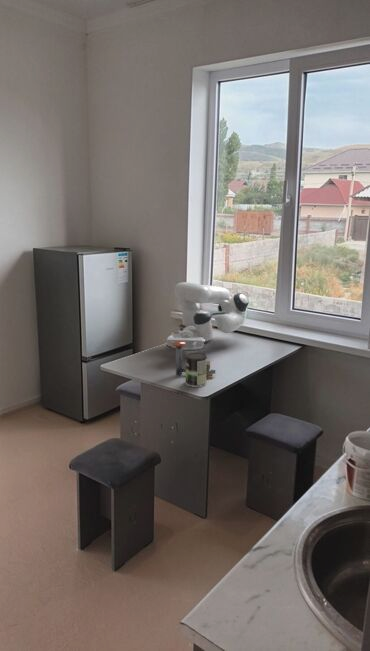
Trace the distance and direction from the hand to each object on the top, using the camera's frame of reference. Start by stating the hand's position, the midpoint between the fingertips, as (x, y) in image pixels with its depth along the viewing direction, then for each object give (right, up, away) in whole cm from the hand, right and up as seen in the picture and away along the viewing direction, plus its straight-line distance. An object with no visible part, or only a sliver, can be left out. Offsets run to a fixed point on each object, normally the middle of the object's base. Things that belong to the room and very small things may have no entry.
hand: (183, 345), depth 263 cm
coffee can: (+6, -18, -21) cm, 28 cm away
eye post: (+11, -15, -10) cm, 21 cm away
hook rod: (+5, -14, -10) cm, 18 cm away
